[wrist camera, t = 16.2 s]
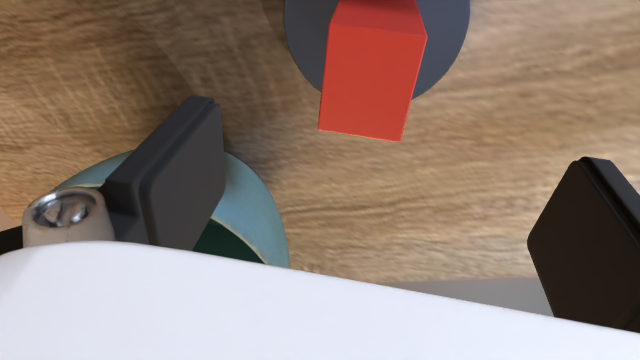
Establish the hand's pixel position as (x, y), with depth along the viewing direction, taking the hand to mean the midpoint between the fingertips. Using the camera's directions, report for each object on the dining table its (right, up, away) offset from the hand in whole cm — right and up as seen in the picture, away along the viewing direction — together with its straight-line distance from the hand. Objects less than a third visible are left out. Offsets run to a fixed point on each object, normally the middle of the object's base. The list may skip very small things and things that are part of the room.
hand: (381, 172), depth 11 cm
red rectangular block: (+2, +10, +15) cm, 18 cm away
